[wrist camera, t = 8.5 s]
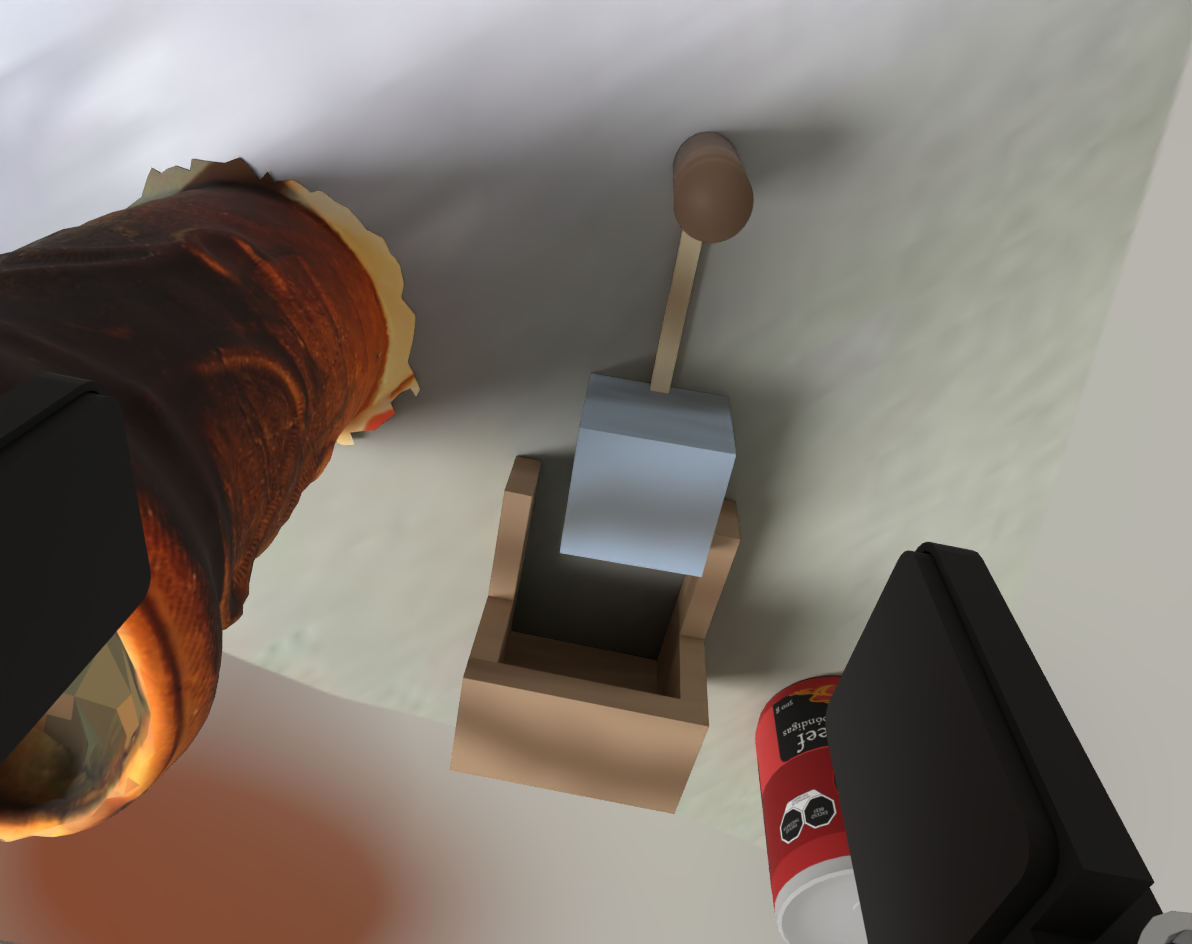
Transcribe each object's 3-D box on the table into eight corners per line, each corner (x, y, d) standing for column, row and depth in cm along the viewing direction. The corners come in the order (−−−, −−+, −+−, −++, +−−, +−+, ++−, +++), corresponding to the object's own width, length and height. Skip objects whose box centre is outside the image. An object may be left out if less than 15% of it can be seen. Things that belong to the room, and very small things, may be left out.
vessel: (303, 523, 39) (2, 920, 22) (47, 314, 35) (-585, 604, 17) (499, 345, 33) (302, 691, 16) (223, 67, 29) (-463, 130, 12)
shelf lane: (516, 455, 36) (479, 565, 29) (735, 501, 36) (751, 620, 29) (486, 642, 42) (449, 770, 35) (673, 680, 43) (674, 813, 36)
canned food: (915, 681, 41) (987, 882, 32) (871, 778, 45) (924, 981, 36) (771, 662, 41) (800, 856, 32) (740, 760, 46) (758, 957, 36)
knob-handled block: (631, 118, 28) (622, 144, 23) (794, 146, 28) (821, 179, 23) (572, 488, 37) (556, 567, 32) (698, 509, 37) (702, 592, 32)
